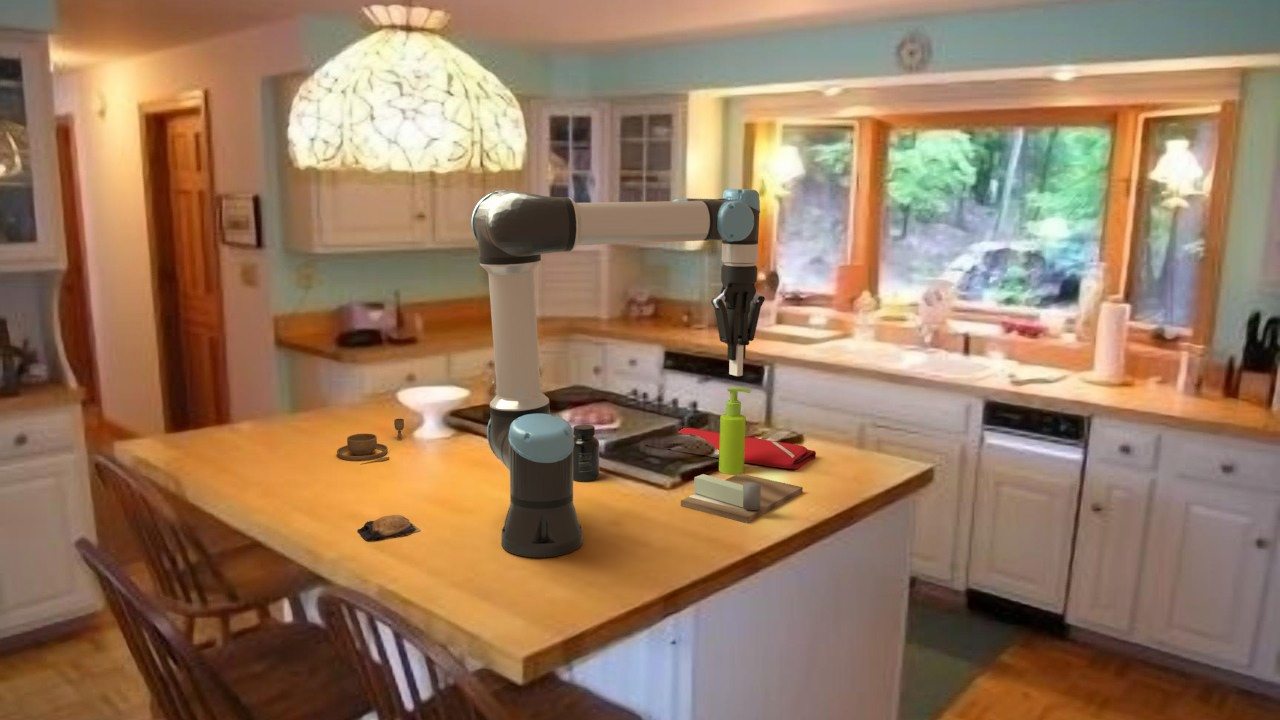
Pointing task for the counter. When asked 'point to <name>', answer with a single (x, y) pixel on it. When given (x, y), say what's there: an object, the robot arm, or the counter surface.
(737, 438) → the soap dispenser
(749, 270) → the robot arm
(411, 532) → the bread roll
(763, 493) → the walnut board
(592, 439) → the supplement bottle
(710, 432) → the dish drying mat
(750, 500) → the sharpening stone
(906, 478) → the counter surface
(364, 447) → the place setting
